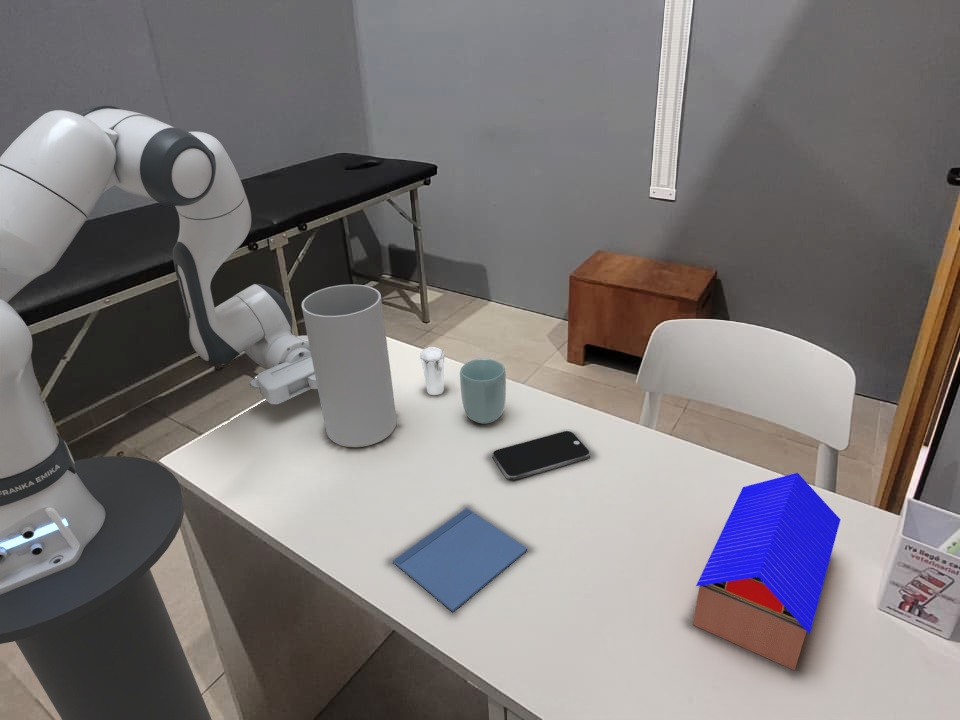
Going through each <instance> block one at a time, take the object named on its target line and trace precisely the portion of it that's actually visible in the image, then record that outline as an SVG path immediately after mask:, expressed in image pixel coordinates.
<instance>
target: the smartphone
mask: <svg viewBox="0 0 960 720" xmlns="http://www.w3.org/2000/svg"><path fill="white" fill-rule="evenodd" d="M491 456H492V457H491V458H492V459H493V461H494V462H495V464H496V465H497V467H498V468H499V470H500V472H502V474H503V475H504V477H505V478H506V479H508V480H510V481H514V480H515V481H516V480H519V479H522V478H523V479H524V478H525V477H529V476H533V475H536V474H540V473H543V472H546V471H549V470H554V469H557V468H560V467H564V466H566V465H570V464H575V463H577V462H581V461H583V460H587V459H589V458H591V457H590V456H591V451H590V450H589V449H588V448H587V447H586V445H585V444H584V443H583V442H582V441H581V440H580V438H579V437H577V436H576V434H575V433H574V432H572V431H569V430H564V431H561V432H556V433H554V434H551V435H546V436H543V437H539V438H535V439H531V440H527V441H524V442H520V443H517V444H513V445H509V446H506V447H502V448H499V449H496V450H494V451H493V452H492V455H491Z"/></svg>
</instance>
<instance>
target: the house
mask: <svg viewBox="0 0 960 720" xmlns="http://www.w3.org/2000/svg"><path fill="white" fill-rule="evenodd" d="M840 523H841V518H840V517H839V516H838V515H837V514H836V513H835V512H834V510H833V509H832V508H830V506H829V505H828V504H827V503H826V502H825V500H823V498H822V497H821V496H820V495H819V494H818V493H817V492H816V491H815V490H814V489H813V487H812V486H810V484H809V483H807V481H806V480H805V479H804V478H803V477H802V476H801V474H800V473H798V472H795V473H791V474H788V475H787V474H786V475H783V476H780V477H776V478H771V479H768V480H765V481H761V482H756V483H753V484H749V485H745V486H743V487H742V488H741V490H740V493H739V494H738V496H737V499H736V501H735V503H734V505H733V507H732V509H731V511H730V514H729V515H728V518H727V520H726V522H725V524H724V526H723V528H722V530H721V532H720V534H719V537H718V539H717V541H716V543H715V545H714V547H713V549H712V551H711V553H710V555H709V557H708V559H707V561H706V563H705V566H704V568H703V570H702V572H701V574H700V576H699V578H698V580H697V583H696V585H695V587H698V593H697V598H696V604H695V610H694V616H693V621H692V625H693V626H695V627H698V628H699V629H702V630H704V631H706V632H708V633H711V634H712V635H715V636H717V637H720V638H721V639H723V640H726V641H728V642H730V643H733V644H735V645H737V646H739V647H742V648H744V649H746V650H748V651H750V652H752V653H755V654H757V655H759V656H762V657H764V658H765V659H768V660H771V661H773V662H774V663H776V664H779V665H782V666H784V667H786V668H787V669H790V670H793V671H795V670H796V668H797V664H798V660H799V657H800V654H801V651H802V648H803V645H804V641H805V638H806V636H807V635H806V634H807V633H808V634H809V635H810V634H811V632H812V628H813V623H814V620H815V616H816V612H817V609H818V605H819V602H820V598H821V593H822V590H823V586H824V583H825V578H826V575H827V572H828V571H827V570H828V567H829V565H830V560H831V557H832V553H833V549H834V545H835V542H836V538H837V534H838V530H839V527H840ZM755 578H758V579H759V580H757V579H755ZM716 584H719V585H722V586H724V588H723V587H720V586H718V585H716ZM784 611H785V612H787V613H790V614H791V615H788V614H785V613H784Z"/></svg>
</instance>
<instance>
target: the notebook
mask: <svg viewBox="0 0 960 720" xmlns="http://www.w3.org/2000/svg"><path fill="white" fill-rule="evenodd" d="M527 551H528V547H526V546H525V545H523V544H522V543H520V542H519V541H517V540H516V539H514V538H513V537H511V536H510V535H508V534H507V533H505V532H504V531H502V530H501V529H499V528H498V527H497V526H495V525H493V524H492V523H490V522H489V521H487V520H486V519H484V518H483V517H481V516H480V515H479V514H477V513H475V512H474V511H473V510H471V509H469V508H468V507H466V508H464V509H463V510H461V511H460V512H458V513H457V514H456V515H454V516H453V517H451V518H450V519H449V520H447V521H446V522H444V523H443V524H441V525H439V527H437V528H436V529H435V530H433V531H431V532H430V533H428V534H427V535H426V536H425V537H423V538H422V539H420V540H419V541H418V542H416V543H414V545H412V546H410V547H409V548H408V549H407V550H405V551H403V552H402V553H401V554H399V555H398V556H396V557H395V558H394V559H392V563H393V564H394V565H395V566H397V567H398V568H399V569H400V570H401V571H403V572H404V573H405V574H406V575H407V576H409V578H410V579H412V580H413V581H414V582H416V583H417V585H419V586H420V587H422V588H423V589H424V590H425V591H427V592H428V593H429V594H430V595H431V596H432V597H434V598H435V599H436V600H437V601H438V602H439V603H440V604H442V605H443V606H445V607H446V608H447V609H448V610H449V611H450V612H452V613H454V612H455V611H456V610H458V609H459V608H460V607H461V606H463V605H464V604H465V603H466V602H467V601H469V600H470V599H471V598H472V597H474V595H476V594H477V593H478V592H480V591H481V590H482V589H483V588H484V587H485V586H486V585H488V584H489V583H490V582H491V581H493V580H494V579H495V578H496V577H497V576H499V575H500V574H501V573H502V572H503V571H505V570H506V569H507V568H508V567H509V566H511V565H512V564H513V563H514V562H515V561H516V560H518V559H519V558H521V556H522V555H524V554H525V553H526V552H527Z"/></svg>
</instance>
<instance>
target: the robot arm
mask: <svg viewBox="0 0 960 720" xmlns="http://www.w3.org/2000/svg"><path fill="white" fill-rule="evenodd" d="M113 187H117V188H119V189H120V190H122V191H124V192H125V193H128V194H131V195H134V196H137V197H140V198H143V199H147V200H151V201H156V202H157V203H159V204H162V205H165V206H173V207H175V209H176V212H177V215H178V218H179V232H178V237H177V241H176V243H175V245H174V247H172V248H173V249H172V260H173V266H174V270H175V271H174V272H175V275H176V280H177V283H178V287H179V292H180V296H181V300H182V304H183V309H184V312H185V316H186V320H187V321H186V322H187V334H188V339H189V341H190V344H191V346H192V348H193V350H194V351H195V353H196V354H197V355H198V356H199V357H200V358H201V359H202V360H203V361H204V362H206V363H209V364H214V365H228V364H230V363H231V362H232V361H233V360H235V359H236V358H237V357H238V356H240V355H241V354H242V353H243V352H244V353H245V355H246V356H248V358H249V359H251V360H252V361H253V362H254V363H256V364H257V365H258V366H259V367H261V368H263V369H264V370H263V371H261V372H259V373H258V374H256V375H254V376H253V377H252V379H251V380H250V381H249V383H248V384H249V386H250V388H252V389H254V390H255V391H259V393H260V395H261V396H262V397H263V398H264V400H265V401H266V402H267V403H269V404H270V405H279V404H282V403H284V402H286V401H287V400H291V399H293V398H295V397H296V396H299V395H301V394H303V393H305V392H307V391H310V390H311V389H312V390H318V387H317V382H316V377H315V372H314V367H313V362H312V357H311V351H310V346H309V341H308V336H307V335H294V334H293V333H292V330H293V315H292V311H291V309H290V306H289V304H288V303H287V301H286V300H285V298H284V297H283V296H282V294H280V293H279V292H278V291H277V290H275V289H274V288H272V287H269V286H267V285H265V284H262V283H253V284H252V285H249V286H247V287H246V288H244V289H243V290H241V291H240V292H238V293H236V294H234V295H233V296H231V297H230V298H228V299H226V300H225V301H223V302H222V303H219V304H218V305H217V306H215V304H214V299H213V296H212V295H213V294H212V291H211V283H212V281H213V278H214V276H215V274H216V273H217V271H218V270H219V269H220V267H221V266H222V265H223V264H224V263H225V262H226V260H227V259H228V258H229V257H231V255H232V254H234V252H236V250H238V249H239V248H240V247H241V245H242V244H243V243H244V241H245V240H246V239H247V237H248V234H249V233H250V230H251V227H252V211H251V207H250V203H249V200H248V196H247V194H246V192H245V188H244V185H243V183H242V180H241V178H240V175H239V173H238V171H237V170H236V167H235V165H234V163H233V161H232V160H231V157H230V156H229V154H228V152H227V150H226V149H225V147H224V146H223V144H222V143H221V142H220V141H219V140H218V139H217V138H216V137H215V136H213V135H212V134H209V133H206V132H203V131H188V130H185V129H183V128H180V127H175V126H172V125H170V124H168V123H165V122H163V121H160V120H158V119H156V118H155V117H153V116H150V115H148V114H144V113H141V112H136V111H131V110H126V109H122V108H120V107H118V106H114V105H105V104H102V105H100V104H99V105H92V106H91V105H90V106H88V107H84V108H82V109H80V110H78V111H77V112H73V111H69V110H63V109H57V110H56V109H54V110H50V111H48V112H46V113H43V114H42V115H41V116H40V117H38V118H37V119H36V120H35V121H33V122H32V123H31V124H30V125H29V126H28V127H27V128H26V129H25V130H23V132H21V134H20V135H19V136H17V137H16V139H14V141H13V142H12V143H11V144H10V145H9V146H8V147H7V149H5V151H4V152H3V153H2V155H1V156H0V595H1V594H4V593H6V592H9V591H11V590H13V589H16V588H18V587H21V586H23V585H26V584H28V583H31V582H33V581H36V580H38V579H41V578H43V577H46V576H48V575H51V574H53V573H56V572H58V571H61V570H63V569H66V568H68V567H70V566H72V565H74V564H75V563H76V562H77V561H78V560H79V558H80V556H81V554H82V552H83V549H84V547H85V546H86V545H87V544H88V543H89V542H90V541H91V540H92V539H93V537H94V536H95V535H96V534H97V533H98V532H99V530H100V529H101V527H102V525H103V523H104V520H105V509H104V507H103V506H102V505H101V504H100V503H99V502H98V501H97V500H96V499H95V498H94V497H93V496H92V495H91V493H90V492H89V491H88V489H87V488H86V487H85V485H84V484H83V483H82V481H81V480H80V478H79V476H78V475H77V473H76V468H75V465H74V464H75V463H74V461H75V460H74V458H73V455H72V453H71V450H70V449H69V447H68V445H67V442H66V441H65V440H64V439H63V437H62V436H61V435H60V433H58V432H57V431H56V429H55V426H54V425H53V422H52V420H51V418H50V415H49V413H48V411H47V408H46V406H45V404H44V402H43V400H42V397H41V394H40V392H39V389H38V386H37V385H38V384H37V381H36V376H35V370H34V367H33V366H34V364H33V359H32V352H33V337H32V333H31V331H30V329H29V327H28V325H27V324H26V322H25V321H24V320H23V318H22V317H21V316H20V314H19V313H18V312H17V311H16V309H14V308H13V306H11V304H9V302H10V301H11V300H12V299H13V298H14V297H15V296H16V295H17V294H18V293H19V292H20V291H21V290H23V289H24V288H25V287H27V286H28V285H29V284H30V283H31V282H32V281H34V280H35V279H37V278H38V277H40V276H42V275H45V274H47V273H49V272H50V271H51V270H52V269H53V268H54V267H55V266H57V263H58V262H59V261H60V259H61V257H62V256H63V255H64V253H65V252H66V251H67V249H68V248H69V246H70V245H71V243H72V242H73V240H74V239H75V237H76V236H77V234H78V233H79V231H80V230H81V228H82V227H83V225H84V224H85V223H86V221H87V219H88V218H89V217H90V215H91V214H92V212H93V210H94V209H95V207H96V206H97V204H98V202H99V201H100V199H101V197H102V195H103V194H104V193H106V191H107V190H109V189H111V188H113Z"/></svg>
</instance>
